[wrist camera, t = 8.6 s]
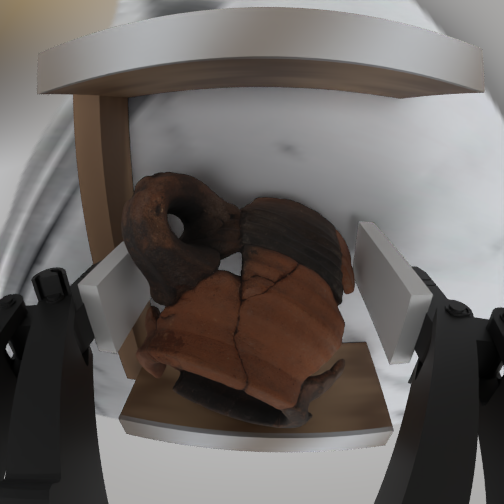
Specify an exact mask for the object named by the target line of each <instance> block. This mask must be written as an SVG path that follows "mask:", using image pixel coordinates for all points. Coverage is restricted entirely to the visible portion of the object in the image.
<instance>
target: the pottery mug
mask: <svg viewBox="0 0 504 504" xmlns="http://www.w3.org/2000/svg"><path fill="white" fill-rule="evenodd" d="M167 214H173V215H176V216H177V217H179V218H180V220H181V221H182V223H183V226H184V231H183V233H182V235H181V237H180V238H178V237H177V236H176V235H175V234H174V233H173V231H172V230H171V228H170V226H169V223H168V219H167ZM121 230H122V237H123V241H124V243H125V246H126V248H127V251H128V253H129V254H130V256H131V258H132V260H133V261H134V263H135V265H136V266H137V267H138V269H139V270H140V271H141V273H142V274H143V275H144V277H145V278H146V279H147V281H148V283H149V286H150V295H151V297H152V299H153V300H154V301H155V302H156V303H158V304H160V305H165V306H166V307H165V309H164V310H163V311H162V312H161V313H160V311H159V309H158V308H157V307H155V306H150V307H149V308H148V310H147V313H146V320H145V328H146V332H147V337H146V339H145V340H144V342H143V344H142V346H141V347H139V348H138V350H137V352H136V357H137V360H138V361H139V363H140V364H141V365H142V366H143V368H144V369H145V370H146V371H148V372H149V373H150V374H152V375H153V376H154V377H155V378H160V377H161V376H162V375H163V373H164V371H165V368H166V366H167V365H169V366H171V367H173V368H174V369H176V370H178V371H180V376H179V378H178V380H177V381H176V383H175V385H174V386H173V391H174V392H175V393H177V394H179V395H180V396H182V397H184V398H186V399H188V400H190V401H192V402H193V403H196V404H199V405H201V406H203V407H205V408H207V409H209V410H211V411H214V412H217V413H219V414H222V415H225V416H228V417H231V418H234V419H237V420H241V421H244V422H248V423H252V424H258V425H263V426H270V427H275V428H297V427H301V426H302V425H304V424H306V423H307V422H308V420H310V419H311V418H312V414H311V413H309V412H308V407H309V403H310V402H311V401H313V400H315V399H317V398H319V397H320V396H321V395H322V394H323V393H325V392H326V391H327V390H328V389H329V388H331V386H332V385H333V384H334V382H335V381H336V380H337V379H338V378H339V377H340V376H341V374H342V373H343V371H344V367H345V360H344V359H340V360H338V361H337V362H336V363H335V364H334V365H333V366H332V367H331V369H330V370H327V371H325V372H324V373H322V374H320V375H316V376H310V375H312V374H314V373H315V372H316V371H318V370H319V369H320V367H321V366H322V365H323V364H324V363H326V362H328V360H329V359H330V358H331V357H332V356H333V354H334V353H335V352H336V351H337V350H338V349H339V348H340V347H341V345H342V336H343V333H344V327H345V322H344V320H343V317H342V315H341V313H340V311H339V309H338V305H340V304H341V303H342V295H343V290H344V293H345V294H350V293H352V292H353V291H354V287H355V279H354V272H353V268H352V266H351V256H350V252H349V249H348V246H347V244H346V242H345V240H344V239H343V237H342V236H341V234H340V233H339V232H338V231H337V230H336V229H335V227H334V226H333V225H332V224H331V223H330V222H329V221H328V220H327V219H326V218H324V217H323V216H322V215H320V214H319V213H318V212H316V211H315V210H312V209H310V208H308V207H306V206H304V205H302V204H300V203H298V202H295V201H292V200H288V199H278V198H271V197H269V198H268V197H262V198H256V199H255V200H254V201H253V202H252V203H251V204H247V205H246V206H245V207H244V208H241V209H239V208H238V207H237V206H236V205H234V204H231V203H228V202H226V201H224V200H223V199H222V198H220V197H219V196H218V195H217V194H216V193H214V192H213V191H212V190H211V189H210V188H209V187H208V186H207V185H205V184H204V183H203V182H201V181H200V180H198V179H196V178H194V177H192V176H189V175H185V174H178V173H171V172H165V173H163V172H160V173H156V174H154V175H152V176H146V177H144V178H142V179H141V180H140V181H139V182H138V183H137V184H136V186H135V191H134V194H133V196H132V198H131V199H129V200H128V201H127V202H126V203H125V205H124V208H123V213H122V222H121ZM236 252H240V253H241V254H242V270H241V276H238V275H235V274H233V273H231V272H229V271H225V270H218V267H219V265H220V261H221V260H222V259H224V258H226V257H228V256H230V255H232V254H234V253H236Z"/></svg>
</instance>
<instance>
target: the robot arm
mask: <svg viewBox="0 0 504 504" xmlns="http://www.w3.org/2000/svg"><path fill="white" fill-rule="evenodd" d="M353 272H354V279H355V282H356V284H357V286H358V289H359V291H360V293H361V295H362V298H363V300H364V302H365V305H366V307H367V309H368V312H369V314H370V316H371V319H372V321H373V324H374V326H375V328H376V331H377V333H378V336H379V338H380V341H381V343H382V346H383V348H384V351H385V354H386V356H387V359H388V361H389V364H390V365H391V364H403V363H410V360H411V357H412V355H413V352H414V350H415V351H416V353H417V355H418V357H419V358H418V361H417V363H416V365H415V368H414V370H413V372H412V375H411V377H410V379H409V381H408V383H410V384H411V387H410V392H409V396H408V400H407V405H406V409H405V413H404V416H403V420H402V424H401V427H400V431H399V434H398V438H397V441H396V444H395V448H394V451H393V454H392V457H391V460H390V463H389V466H388V469H387V471H386V474H385V477H384V480H383V482H382V485H381V488H380V490H379V493H378V495H377V498H376V500H375V503H374V504H469V501H470V495H471V489H472V483H473V476H474V469H475V461H476V452H477V440H478V439H477V438H478V437H479V442H480V449H481V455H482V462H483V470H484V479H485V490H486V504H504V375H503V376H502V377H501V375H500V372H499V371H500V370H501V368H502V366H503V365H504V308H502V307H501V308H495V309H494V310H493V312H492V314H491V317H490V319H489V320H488V319H481V318H475V317H474V316H473V313H472V310H471V309H470V308H469V307H468V306H466V305H465V304H463V303H461V302H458V301H456V300H449V299H447V298H446V296H445V295H444V294H443V293H442V291H441V290H440V289H439V288H438V286H436V284H435V283H434V282H433V280H431V278H430V277H429V276H428V274H427V273H426V272H424V271H423V270H421V269H420V268H418V267H411V266H410V265H409V263H408V262H407V261H406V260H405V258H404V257H403V256H402V255H401V254H400V252H399V251H398V250H397V249H396V248H395V247H394V245H393V244H392V243H391V242H390V241H389V239H388V238H387V237H386V236H385V235H384V234H383V233H382V231H381V230H380V229H379V228H378V227H377V226H376V225H375V223H374V222H358V230H357V238H356V246H355V254H354V261H353ZM32 283H33V286H34V289H35V292H36V295H37V298H38V304H37V305H32V306H26V305H25V302H24V300H23V297H22V296H21V295H19V294H13V295H11V294H9V295H8V296H7V295H6V296H4V297H3V298H2V299H0V504H108V500H107V495H106V490H105V484H104V479H103V473H102V467H101V460H100V453H99V446H98V438H97V428H96V417H95V403H94V386H93V354H92V351H91V348H90V346H89V345H90V344H91V342H92V341H93V339H94V338H95V341H96V344H97V347H98V349H99V351H103V352H109V353H115V354H117V353H118V351H119V349H120V348H121V346H122V344H123V343H124V341H125V339H126V337H127V336H128V334H129V332H130V331H131V329H132V327H133V326H134V324H135V322H136V321H137V319H138V317H139V316H140V314H141V313H142V311H143V309H144V308H145V306H146V304H147V303H148V301H149V300H150V298H151V295H150V286H149V283H148V281H147V279H146V278H145V277H144V275H143V274H142V273H141V271H140V270H139V269H138V267H137V266H136V265H135V263H134V261H133V260H132V258H131V256H130V254H129V253H128V251H127V248H126V246H125V243H124V241H123V242H122V243H120V244H119V245H118V246H117V247H116V248H115V249H114V250H113V251H112V252H111V253H110V254H109V255H107V256H106V257H105V258H104V259H103V260H101V261H99V262H97V263H95V264H93V265H92V266H91V267H90V268H89V269H88V270H86V272H85V273H83V274H82V275H81V276H80V278H78V279H77V280H76V281H75V282H74V283H73V284H72V285H71V286H70V285H69V282H68V278H67V275H66V271H65V270H64V269H63V268H50V269H46V270H44V271H41V272H39V273H38V274H36V275H35V276H34V277H33V278H32ZM8 343H9V345H10V347H11V349H12V351H13V353H14V354H13V356H12V358H10V357H9V355H8V353H7V351H6V349H5V348H6V345H7V344H8ZM411 382H412V383H411ZM5 472H6V475H5ZM4 476H5V479H4Z"/></svg>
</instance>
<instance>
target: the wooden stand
mask: <svg viewBox="0 0 504 504" xmlns="http://www.w3.org/2000/svg"><path fill="white" fill-rule="evenodd" d="M228 87H295V88H314V89H328V90H339V91H349V92H358V93H366V94H374V95H381V96H387V97H393V98H399V99H401V98H410V97H420V96H430V95H443V94H459V93H484V67H483V53H482V49H481V48H479V47H476V46H474V45H471V44H469V43H466V42H463V41H460V40H458V39H455V38H452V37H449V36H446V35H443V34H440V33H437V32H433V31H430V30H427V29H423V28H420V27H416V26H412V25H408V24H404V23H400V22H396V21H391V20H386V19H382V18H376V17H371V16H365V15H359V14H353V13H346V12H338V11H329V10H319V9H306V8H285V7H248V8H228V9H215V10H204V11H195V12H187V13H180V14H174V15H168V16H162V17H156V18H151V19H146V20H142V21H137V22H133V23H128V24H124V25H120V26H117V27H113V28H109V29H106V30H102V31H99V32H95V33H92V34H89V35H86V36H83V37H80V38H77V39H74V40H71V41H69V42H66V43H63V44H60V45H58V46H55V47H53V48H50V49H48V50H45V51H43V52H40V53H39V54H38V70H37V94H73V109H74V131H75V146H76V158H77V168H78V177H79V185H80V193H81V200H82V206H83V213H84V219H85V225H86V230H87V236H88V241H89V246H90V251H91V255H92V260H93V264H95V263H97V262H99V261H101V260H103V259H104V258H105V257H106V256H107V255H109V254H110V253H111V252H112V251H113V250H114V249H115V248H116V247H117V246H118V245H119V244H120V243H122V242H123V237H122V230H121V222H122V213H123V208H124V205H125V203H126V202H127V201H128V200H129V199H131V198H132V196H133V194H134V191H133V181H132V169H131V156H130V141H129V121H128V98H129V97H136V96H142V95H149V94H157V93H165V92H174V91H184V90H195V89H209V88H228ZM150 306H151V304H150V300H149V301H148V303H147V304H146V306H145V308H144V309H143V311H142V313H141V314H140V316H139V317H138V319H137V321H136V322H135V324H134V326H133V327H132V329H131V331H130V332H129V334H128V336H127V337H126V339H125V341H124V343H123V344H122V346H121V348H120V349H119V351H118V353H119V356H120V359H121V362H122V365H123V368H124V371H125V373H126V376H127V378H129V379H134V380H136V381H135V383H134V385H133V388H132V390H131V392H130V394H129V396H128V399H127V401H126V403H125V405H124V407H123V410H122V412H121V414H120V416H119V421H120V423H121V424H122V426H123V428H124V430H125V432H126V433H127V434H130V435H134V436H139V437H144V438H149V439H153V440H159V441H164V442H170V443H177V444H183V445H190V446H197V447H206V448H214V449H225V450H237V451H255V452H320V451H336V450H348V449H359V448H367V447H376V446H383V445H385V444H386V443H387V441H388V439H389V438H390V436H391V434H392V433H393V431H394V430H393V426H392V423H391V419H390V416H389V412H388V409H387V405H386V402H385V399H384V395H383V392H382V389H381V386H380V382H379V379H378V376H377V373H376V370H375V367H374V364H373V361H372V358H371V355H370V352H369V349H368V346H367V343H366V342H361V343H342V345H341V347H340V348H339V349H338V350H337V351H336V352H335V353H334V354H333V356H332V357H331V358H330V359H329V360H328V362H326V363H324V364H323V365H322V366H321V367H320V369H319V370H318V371H316V372H315V373H314V374H312V375H310V376H316V375H320V374H322V373H324V372H325V371H327V370H330V369H331V367H332V366H333V365H334V364H335V363H336V362H337V361H338V360H340V359H344V360H345V367H344V371H343V373H342V374H341V376H340V377H339V378H338V379H337V380H336V381H335V382H334V384H333V385H332V386H331V388H329V389H328V390H327V391H326V392H325V393H323V394H322V395H321V396H320V397H319V398H317V399H315V400H313V401H311V402H310V403H309V407H308V412H309V413H311V414H312V418H311V419H310V420H308V422H307V423H306V424H304V425H302V426H301V427H297V428H275V427H270V426H263V425H258V424H252V423H248V422H244V421H241V420H237V419H234V418H231V417H228V416H225V415H222V414H219V413H217V412H214V411H211V410H209V409H207V408H205V407H203V406H201V405H199V404H196V403H193V402H192V401H190V400H188V399H186V398H184V397H182V396H180V395H179V394H177V393H175V392H174V391H173V386H174V385H175V383H176V381H177V380H178V378H179V376H180V371H178V370H176V369H174V368H173V367H171V366H169V365H167V366H166V368H165V371H164V373H163V375H162V376H161V377H160V378H155V377H154V376H153V375H152V374H150V373H149V372H148V371H146V370H145V369H144V368H143V366H142V365H141V364H140V363H139V361H138V360H137V357H136V352H137V350H138V348H139V347H141V346H142V344H143V342H144V340H145V339H146V337H147V332H146V328H145V320H146V313H147V310H148V308H149V307H150Z"/></svg>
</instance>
